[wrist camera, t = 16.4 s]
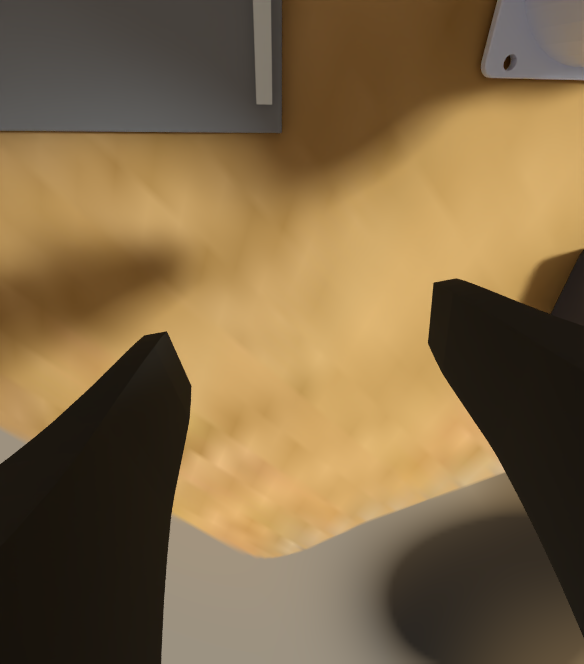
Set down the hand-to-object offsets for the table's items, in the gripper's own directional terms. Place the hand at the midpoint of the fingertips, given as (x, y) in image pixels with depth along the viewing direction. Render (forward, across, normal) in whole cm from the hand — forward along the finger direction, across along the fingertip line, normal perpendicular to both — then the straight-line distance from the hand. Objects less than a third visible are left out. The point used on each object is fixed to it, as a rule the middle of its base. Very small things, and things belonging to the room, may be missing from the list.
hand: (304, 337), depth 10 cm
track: (+9, +5, -19) cm, 22 cm away
